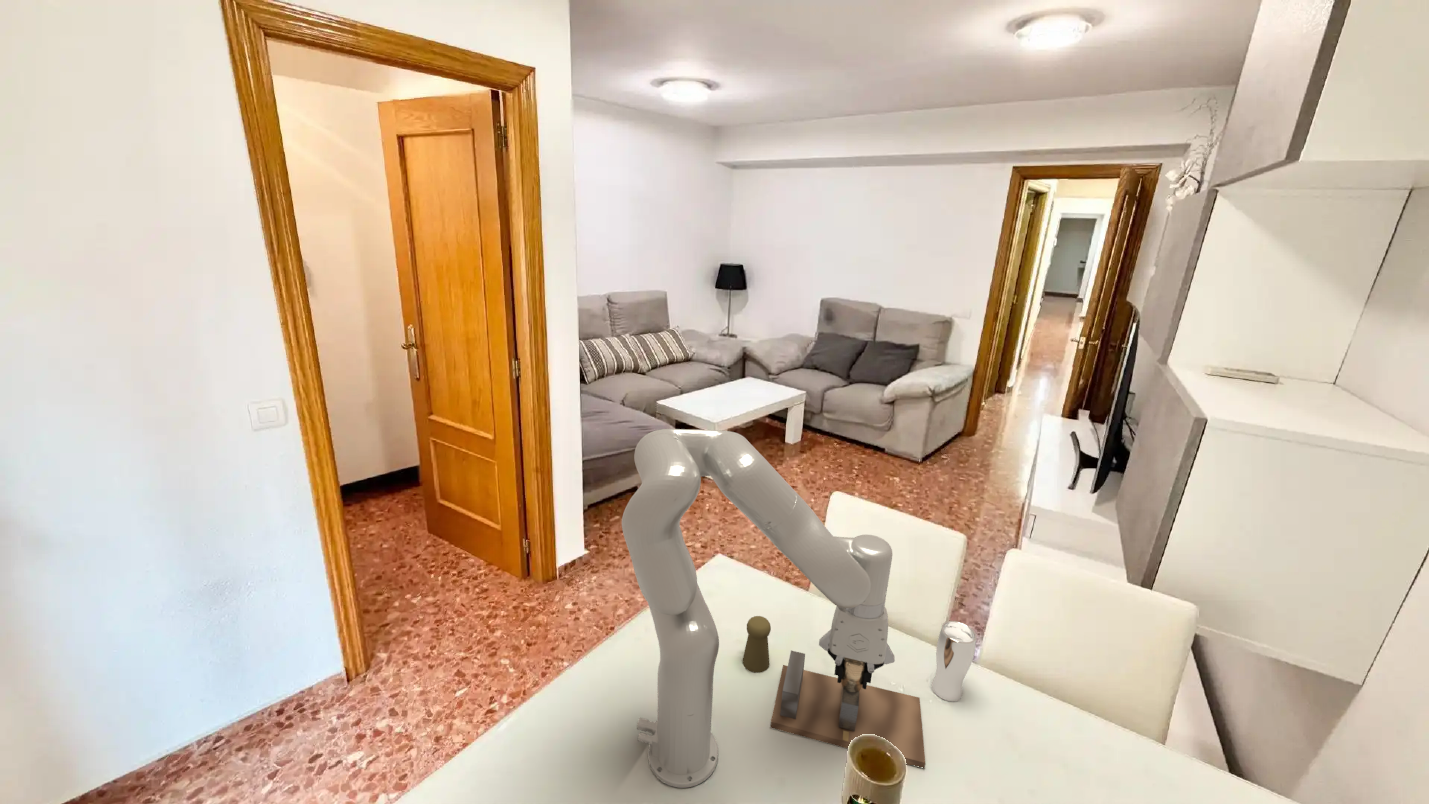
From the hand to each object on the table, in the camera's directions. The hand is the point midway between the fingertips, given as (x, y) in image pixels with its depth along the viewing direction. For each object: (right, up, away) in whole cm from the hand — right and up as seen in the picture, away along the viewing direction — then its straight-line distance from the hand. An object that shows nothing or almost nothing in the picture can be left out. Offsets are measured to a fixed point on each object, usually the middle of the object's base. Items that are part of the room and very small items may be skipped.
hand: (851, 679), depth 106 cm
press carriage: (0, -7, +2) cm, 7 cm away
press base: (0, -8, +3) cm, 9 cm away
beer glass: (+22, -7, +10) cm, 25 cm away
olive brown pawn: (-17, -4, +15) cm, 23 cm away
